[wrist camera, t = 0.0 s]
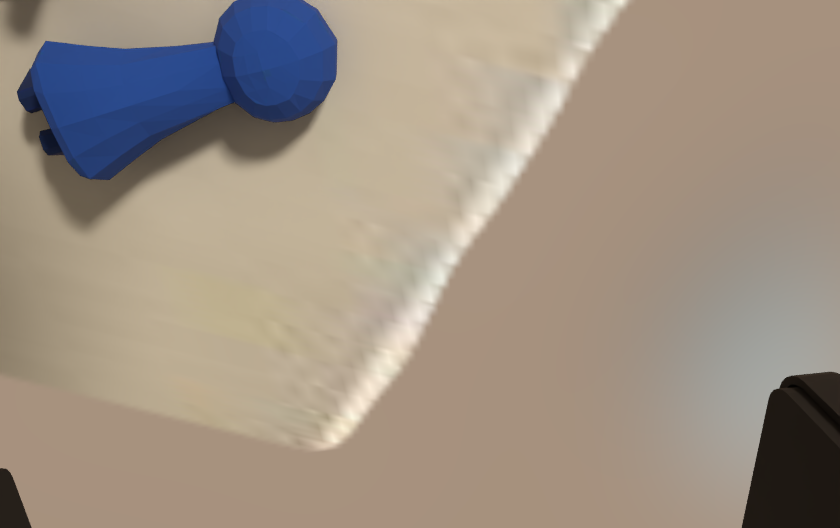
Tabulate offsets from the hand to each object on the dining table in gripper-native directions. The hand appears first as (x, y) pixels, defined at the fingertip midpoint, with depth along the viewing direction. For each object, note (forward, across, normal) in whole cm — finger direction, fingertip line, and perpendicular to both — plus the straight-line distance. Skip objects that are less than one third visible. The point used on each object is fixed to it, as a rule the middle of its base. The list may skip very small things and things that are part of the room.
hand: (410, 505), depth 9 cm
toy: (+32, +8, 0) cm, 33 cm away
